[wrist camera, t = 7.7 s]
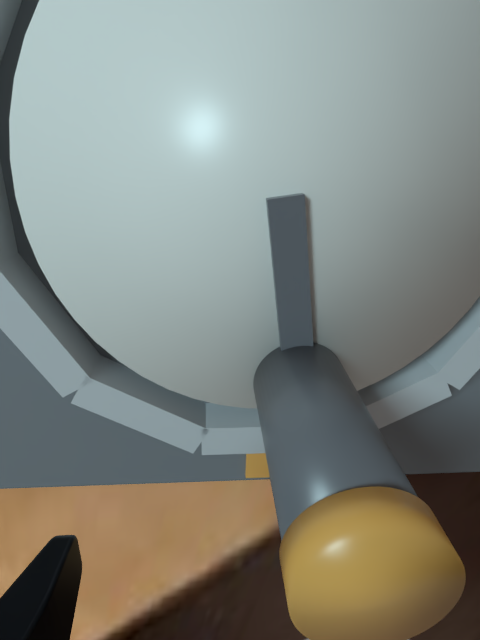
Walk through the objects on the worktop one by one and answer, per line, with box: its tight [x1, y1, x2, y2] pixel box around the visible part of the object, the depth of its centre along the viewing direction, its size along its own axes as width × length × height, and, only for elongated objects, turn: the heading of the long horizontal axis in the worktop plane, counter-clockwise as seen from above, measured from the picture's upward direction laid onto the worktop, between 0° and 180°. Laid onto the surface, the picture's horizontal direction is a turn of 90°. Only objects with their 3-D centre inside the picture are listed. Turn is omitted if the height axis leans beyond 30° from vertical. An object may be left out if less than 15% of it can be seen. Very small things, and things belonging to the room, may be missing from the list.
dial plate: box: [0, 0, 480, 489], centre depth 13 cm, size 24×24×3 cm
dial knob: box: [9, 0, 480, 640], centre depth 9 cm, size 15×14×8 cm
